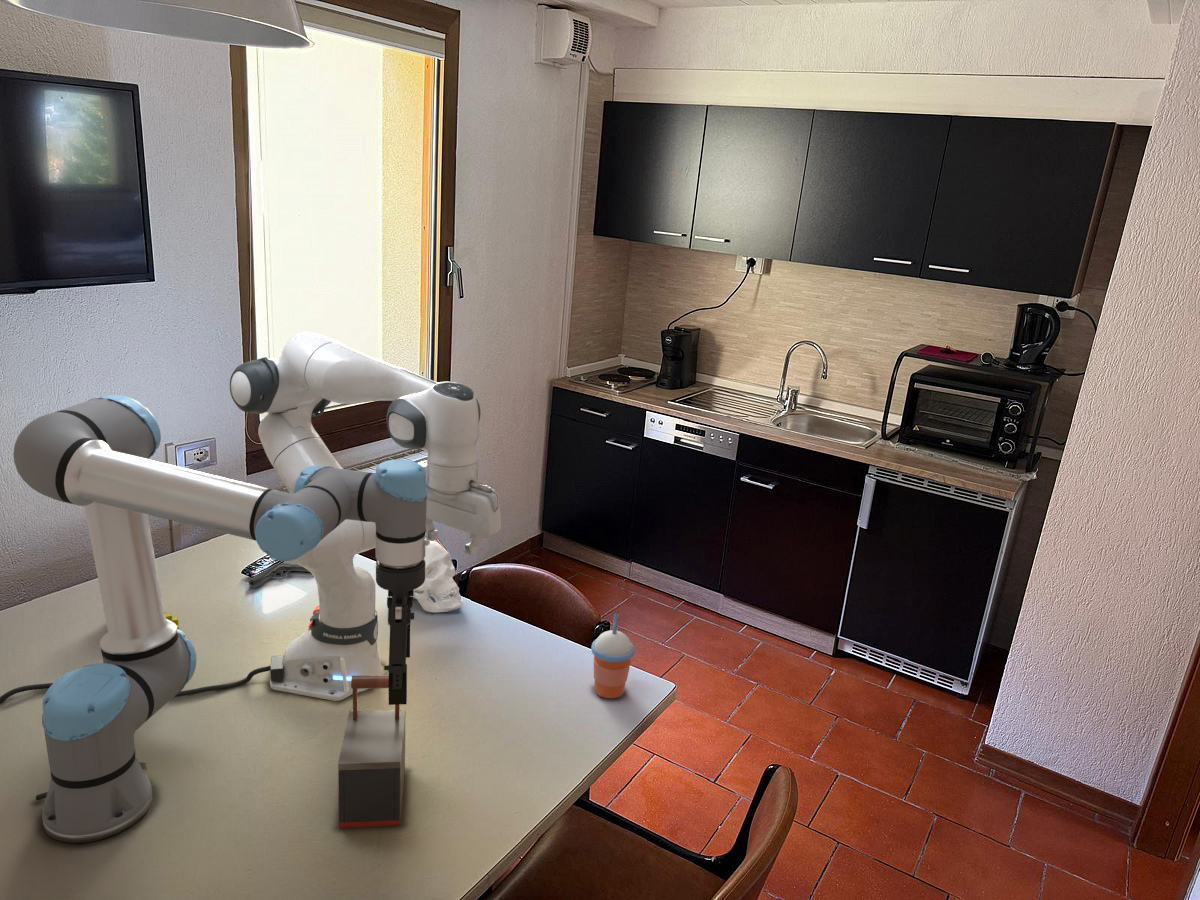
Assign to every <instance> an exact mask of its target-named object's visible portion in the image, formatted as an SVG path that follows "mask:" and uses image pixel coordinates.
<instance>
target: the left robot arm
mask: <svg viewBox="0 0 1200 900" xmlns="http://www.w3.org/2000/svg"><path fill="white" fill-rule="evenodd" d="M161 439H162V434H161V429H160V426H159V423H158V421H157V419H156V418H155V416H154V415H153V413H152V412H151V411H150V410H149V408H148V407H145V406H144V405H143V404H142V403H141V402H139V401H138V400H136V399H134V398H132V397H129V396H125V395H120V394H110V395H106V396H102V397H93V398H90V399H88V400H86V401H83V402H80V403H78V404H75V405H72V406H69V407H65V408H63V409H60V410H57V411H53V412H49V413H46V414H43V415H40V416H38V417H37V418H35V419H33V420H31V421H30V422H29V423H28V424H27V425H25V426H24V427H23V429H22V430H21V432H20V433H19V434H18V436H17V438H16V440H15V443H14V446H13V455H12V456H13V463H14V466H15V468H16V472H17V473H18V475H19V477H20V478H21V479H22V481H23V482H25V484H26V485H28V486H29V487H30V488H31V489H32V490H34V491H35V492H37V493H39V494H41V495H42V496H45V497H48V498H49V499H53V500H56V501H57V502H58V501H59V502H62V503H66V504H70V505H75V506H78V507H84V513H85V518H86V522H87V528H88V533H89V538H90V544H91V549H92V555H93V559H94V564H95V565H94V566H95V570H96V576H97V580H98V585H99V590H100V591H99V592H100V596H101V602H102V606H103V612H104V617H105V623H106V628H107V632H106V633H105V634H104V635H103V637H102V638H101V639H100V641H99V647H100V652H101V659H102V662H100V663H91V664H85V665H84V666H82V668H80V669H77V668H74V669H72V670H70V671H68V672H66V673H65V674H63V675H61V676H60V677H59V678H57V679H56V680H54V682H52V683H53V684H52V685H51V686H50V687H49V688H48V689H46V692H45V693H44V695H43V699H42V714H41V724H42V728H43V732H44V739H45V745H46V751H47V757H48V758H47V759H48V764H49V770H50V782H49V785H48V789H47V791H46V792H42V793H39V794H37V795H36V796H35V799H36V801H40V800H44V803H43V806H42V814H41V817H42V825H43V830H44V831H45V833H46V834H47V835H48V836H49V837H50V838H52V839H54V840H56V841H58V842H63V843H67V844H68V843H70V844H81V843H84V844H85V843H91V842H97V841H100V840H103V839H106V838H109V837H110V838H111V837H113V836H114V835H117V834H119V833H122V832H123V831H125V830H127V829H129V828H131V826H133V825H135V824H136V823H138V821H139V820H141V818H143V816H144V815H145V814H147V812H148V810H149V809H150V807H151V805H152V802H153V788H152V784H151V781H150V779H149V777H148V775H147V773H146V772H145V771H148V768H147V762H145V761H139V760H138V758H137V755H136V745H135V733H136V731H137V730H138V729H140V727H142V726H143V724H145V723H146V722H147V721H148V720H149V719H151V718H152V717H153V716H154V715H155V714H156V713H158V711H160V710H161V709H162V708H163V707H165V705H167V704H168V703H169V702H170V701H171V700H172V699H174V698H176V697H175V696H176V695H177V694H179V692H180V691H183V689H185V687H186V685H187V684H188V683H189V682H190V680H191V679H192V677H194V674H195V671H196V667H197V653H196V649H195V647H194V644H193V642H192V641H191V639H190V638H188V639H187V638H186V635H187V634H185V632H184V631H182V630H181V629H180V628H179V629H177V626H176V624H175V623H174V622H172V621H170V620H168V619H166V618H165V614H164V612H165V609H164V604H163V603H164V602H163V598H162V591H161V586H160V579H159V574H158V567H157V562H156V555H155V549H154V544H153V538H152V537H153V536H152V532H151V527H150V521H149V520H150V519H149V516H151V517H157V518H161V519H163V520H169V521H173V522H178V523H181V524H185V525H189V526H192V527H193V526H194V527H198V528H202V529H206V530H210V531H214V532H219V533H223V534H227V535H231V536H234V537H240V538H244V539H247V540H252V541H256V543H257V545H258V547H259V549H260V550H261V551H262V552H263V553H265V554H266V555H267V556H269V557H270V558H271V559H272V560H274V561H275V560H279V561H291V560H294V559H297V558H299V557H300V556H302V555H304V554H305V553H307V552H308V551H310V550H312V549H313V548H314V547H316V546H317V544H318V543H319V542H320V541H321V540H322V539H323V538H324V537H325V536H327V535H328V534H329V533H330V532H331V531H333V530H334V529H335V528H336V527H337V526H339V525H340V524H341V523H342V522H343V521H344V520H346V519H349V520H357V521H365V522H375V525H376V534H375V548H374V549H375V551H374V552H375V553H374V554H375V560H376V561H375V584H376V585H377V586H378V587H379V588H381V589H383V590H385V591H387V597H386V607H387V624H388V625H389V644H388V645H389V646H388V647H389V648H388V665H383V671H387V672H388V675H389V688H388V706H395V705H400V706H401V705H407V701H408V699H407V698H408V664H407V658H408V659H409V658H411V623H412V620H415V612H412V609H413V608H414V607H413V606H414V598H413V595H414V589H416V588H418V587H420V586H421V585H422V584H423V583H424V581H425V560H424V558H425V546H427V545H429V544H430V541H429V539H425V538H426V505H427V487H426V472H425V469H424V468H423V466H422V465H420V464H419V463H418V462H417V461H413V460H409V459H399V460H398V459H389V460H384V461H383V462H381V463H379V464H378V465H377V466H376V468H375V472H368V471H360V470H353V469H345V468H343V469H339V468H334V467H330V466H324V467H319V466H310V467H307V468H305V469H304V470H303V471H302V472H301V474H300V477H298V478H297V480H296V483H295V488H294V494H292V493H289V492H287V491H282V490H277V489H272V488H268V487H264V486H259V485H256V484H252V483H247V482H244V481H239V480H236V479H231V478H227V477H223V476H219V475H216V474H215V475H214V474H210V473H206V472H202V471H198V470H194V469H190V468H185V467H181V466H177V465H174V464H170V463H165V462H161V461H157V460H154V459H153V460H152V459H151V457H153V456H154V455H155V453H156V452H157V450H158V449H159V447H160V445H161Z"/></svg>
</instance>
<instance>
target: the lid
mask: <svg viewBox="0 0 1200 900" xmlns="http://www.w3.org/2000/svg"><path fill="white" fill-rule="evenodd" d="M351 688H352V689H353V694H352V710H350V711H348V715H347V719H346V724H345V728H344V734H343V740H342V742H341V748H340V752H339V756H338V757H339V759H338V761H337V762H338V763H337V771H338V770H365V769H394V768H400V766H401V756H402V747H403V737H404V728H405V729H406V717H407V710H406V709H400V706H401V705H394V709H393V710H391V709H390V710H388V709H387V710H385V709H384V710H358V693H357V689H367V688H369V689H389V674H383V675H352V679H351ZM367 690H368V689H367Z"/></svg>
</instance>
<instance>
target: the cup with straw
mask: <svg viewBox="0 0 1200 900" xmlns="http://www.w3.org/2000/svg"><path fill="white" fill-rule="evenodd" d="M618 623H619V614H618V613H614V614H613V622H612V629H611V630H606V631H603V632H602V633H600V634H599V636H598V637H597V638H596V639H594V640H593V642H592V643H591V646H590V647H591V648H590V649H591V653H592V655H593V660H592V661H593V679H594V691H595V693H596V694H597V696H599V697H602V698H605V699H617V698H620V697H621V696H623V694H624V692H625V688H626V683H627V680H628V676H629V672H630V667H631V663H632V662H631V661H632V660H631V659H632V658H633V657H634V656H635V653H636V650H635V646H634V644H633V643H632V642H631V639H630V637H628V636H627V634H625V633H624V632H622V631H620V630H618Z"/></svg>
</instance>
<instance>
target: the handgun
mask: <svg viewBox="0 0 1200 900" xmlns="http://www.w3.org/2000/svg"><path fill="white" fill-rule="evenodd" d="M292 571H294V572H295V571H296V572H307V573H311V572H310V571H309V570H307V569H306V568H304V567H302V566H300V565H298V564H296V563H295V562H294V561H293V560H291V561H284V562H283V563H281V564H277V565H275V566H273V567H272V568H270V569H268V570H266V571H263V572H261V571H260V572H261V573H259V572H258V573H259V574H258V573H256V574H255V575H254V576H253V577H251V579H249V580H248V586H249V587H251V588H258V587H260V586H262V585H263V584H264V583H265V582H267V581H268V580H270V579H272V578H273V579H282V578H285V577H286V576H287V575H289V573H290V572H292ZM284 572H285V573H284ZM277 574H279V575H277Z"/></svg>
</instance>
